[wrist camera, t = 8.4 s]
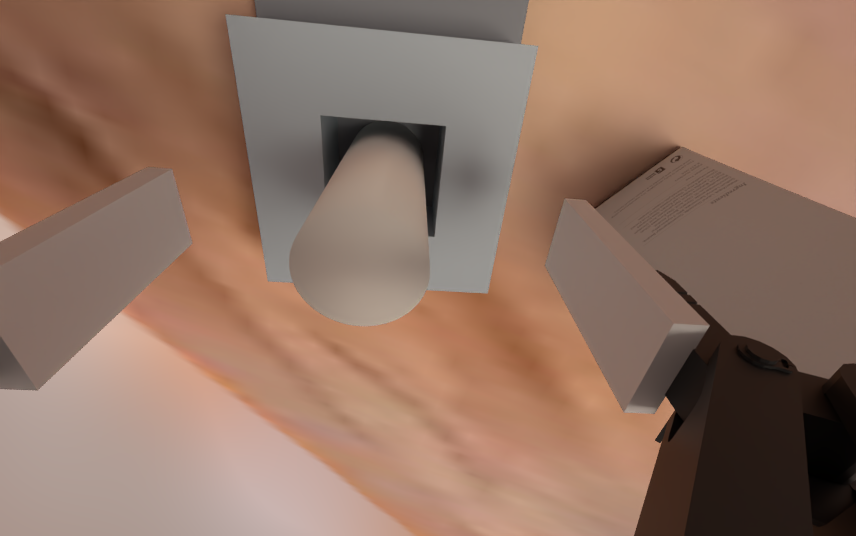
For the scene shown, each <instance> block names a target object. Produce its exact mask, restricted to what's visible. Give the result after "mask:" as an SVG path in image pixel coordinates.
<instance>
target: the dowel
mask: <svg viewBox="0 0 856 536" xmlns="http://www.w3.org/2000/svg"><path fill="white" fill-rule="evenodd" d="M289 269H290V274H291V278H292V281H293V283H294V285H295V287H296V289H297V291H298V292H299V294H300V295H301V297H302V298H303V299H304V300H305V301H306V302H307V303H308V304H309V305H310V306H311V307H312V308H313V309H315V310H316V311H317V312H319V313H320V314H322V315H324V316H326V317H327V318H330V319H332V320H334V321H337V322H340V323H344V324H348V325H354V326H375V325H381V324H386V323H389V322H392V321H394V320H397V319H399V318H401V317H402V316H404V315H406V314H407V313H408V312H410V311H411V310H412V309H413V308H414V307H415V306H416V305H417V304H418V303H419V302H420V300H421V299H422V298H423V296H424V294H425V292H426V290H427V287H428V284H429V278H430V259H429V244H428V228H427V212H426V197H425V181H424V165H423V153H422V148H421V145H420V142H419V141H418V139H417V137H416V136H415V134H414V133H413V132H412V131H411V130H410V129H409V128H407V127H406V126H404V125H403V124H400V123H398V122H393V121H381V120H380V121H375V122H372V123H370V124H368V125H366V126H365V127H364V128H362V129H361V130H360V131H359V133H358V134H357V135H356V137H355V139H354V140H353V142H352V144H351V145H350V147H349V149H348V150H347V152H346V154H345V155H344V157H343V159H342V160H341V162H340V164H339V165H338V167H337V169H336V170H335V172H334V174H333V175H332V177H331V179H330V180H329V182H328V184H327V185H326V187H325V189H324V191H323V192H322V194H321V196H320V197H319V199H318V201H317V202H316V204H315V206H314V207H313V209H312V211H311V212H310V214H309V216H308V217H307V219H306V221H305V222H304V224H303V226H302V227H301V229H300V231H299V232H298V234H297V236H296V238H295V240H294V242H293V244H292V247H291V250H290V256H289Z"/></svg>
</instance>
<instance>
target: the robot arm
mask: <svg viewBox="0 0 856 536" xmlns="http://www.w3.org/2000/svg"><path fill="white" fill-rule="evenodd" d="M191 244H192V239H191V236H190V232H189V229H188V225H187V221H186V218H185V214H184V210H183V207H182V203H181V200H180V196H179V192H178V189H177V185H176V181H175V178H174V174H173V171H172V169H168V168H155V167H146V168H144V169H142V170H140V171H138V172H136V173H135V174H133V175H131V176H129V177H127V178H125V179H123V180H121V181H119V182H117V183H115V184H113V185H111V186H109V187H107V188H105V189H103V190H101V191H99V192H97V193H95V194H93V195H91V196H89V197H87V198H85V199H83V200H81V201H79V202H77V203H75V204H74V205H72V206H70V207H68V208H66V209H64V210H62V211H60V212H58V213H56V214H54V215H52V216H50V217H48V218H46V219H44V220H42V221H40V222H38V223H36V224H34V225H32V226H30V227H28V228H26V229H24V230H22V231H20V232H18V233H16V234H14V235H12V236H11V237H9V238H7V239H5V240H3V241H1V242H0V389H16V390H38V389H40V387H41V386H43V385H44V384H45V383H46V382H47V381H48V380H49V379H50V378H51V377H52V376H53V375H54V374H55V373H56V372H57V371H59V370H60V369H61V368H62V367H63V366H64V365H65V364H66V363H67V362H68V361H69V360H70V359H71V358H72V357H73V356H74V355H75V354H76V353H77V352H78V351H79V350H81V349H82V348H83V346H85V345H86V344H87V343H88V342H89V341H90V340H91V339H92V338H93V337H94V336H95V335H96V334H97V333H99V332H100V331H101V330H102V329H103V328H104V327H105V326H106V325H107V324H108V323H109V322H110V321H111V320H112V319H113V318H114V317H115V316H116V315H118V314H119V313H120V312H121V311H122V310H123V309H124V308H125V307H126V306H127V305H128V304H129V303H130V302H131V301H132V300H133V299H134V298H135V297H136V296H138V295H139V294H140V293H141V292H142V291H143V290H144V289H145V288H146V287H147V286H148V285H149V284H150V283H151V282H152V281H153V280H154V279H155V278H157V277H158V276H159V275H160V274H161V273H162V272H163V271H164V270H165V269H166V268H167V267H168V266H169V265H170V264H171V263H172V262H173V261H174V260H175V259H177V258H178V257H179V256H180V255H181V254H182V253H183V252H184V251H185V250H186V249H187V248H188V247H189V246H190V245H191ZM545 267H546V269H547V271H548V272H549V274H550V276H551V278H552V280H553V282H554V284H555V285H556V287H557V289H558V291H559V293H560V295H561V297H562V298H563V300H564V302H565V304H566V306H567V308H568V310H569V311H570V313H571V315H572V317H573V319H574V321H575V323H576V324H577V326H578V328H579V330H580V332H581V334H582V336H583V337H584V339H585V341H586V343H587V345H588V347H589V349H590V351H591V352H592V354H593V356H594V358H595V360H596V362H597V364H598V365H599V367H600V369H601V371H602V373H603V375H604V377H605V378H606V380H607V382H608V384H609V386H610V388H611V390H612V391H613V393H614V395H615V397H616V399H617V401H618V403H619V404H620V406H621V408H622V410H623V412H624V413H651V414H655V412H656V411H657V409H658V407H659V406H660V404H661V403H662V401H663V400H664V398H665V396H666V397H667V398H668V400H669V401H670V403H671V404H672V406H673V407H674V409H675V411H674V412H673V414H672V415H671V417H670V418H669V420H668V421H667V423H666V424H665V426H664V427H663V429H662V430H661V432H660V433H659V435H658V436H657V438H656V439H655V441H657V442H659V443H661V441H662V443H661V447H660V450H659V453H658V457H657V460H656V463H655V467H654V470H653V474H652V477H651V480H650V484H649V487H648V491H647V494H646V497H645V501H644V504H643V507H642V511H641V514H640V518H639V521H638V524H637V528H636V531H635V534H634V536H856V364H854V363H851V364H843V365H842V366H841V367H840V368H839V369H838V370H837V371H836V372H835V373H834V374H833V375H832V376H831V378H830V379H826V378H822V377H818V376H815V375H811V374H807V373H803V372H799V371H798V370H797V368H796V366H795V365H794V364H793V363H792V362H791V361H790V360H789V359H788V358H787V357H786V356H785V355H783V354H782V353H780V352H779V351H777V350H776V349H774V348H773V347H771V346H768V345H766V344H764V343H762V342H760V341H758V340H754V339H751V338H748V337H745V336H737V335H731V334H730V333H729V332H728V331H726V330H725V329H724V328H723V327H722V326H721V325H720V324H719V323H718V322H717V321H716V320H715V319H714V318H713V317H712V316H711V315H710V314H709V313H708V312H707V311H706V310H705V309H704V308H703V307H702V306H701V305H697V301H696V300H695V299H694V298H693V297H692V296H691V295H687V292H686V291H685V290H684V289H683V288H682V287H681V286H680V285H679V284H678V283H677V282H676V281H675V280H673V279H672V278H670V277H669V276H667V275H665V274H664V273H662V272H660V271H659V270H655V269H654V268H653V267H652V266H651V265H650V264H649V263H648V262H647V261H646V260H645V259H644V258H643V257H642V256H641V255H640V254H639V253H638V252H637V251H636V250H635V249H634V248H633V247H632V246H631V245H630V244H629V243H628V242H627V241H626V240H625V239H624V238H623V237H622V236H621V235H620V234H619V233H618V232H617V231H616V230H615V229H614V228H613V227H612V226H611V225H610V224H609V223H608V222H607V221H606V220H605V219H604V218H603V217H602V216H601V215H600V214H599V213H598V212H597V211H596V210H595V209H594V208H593V207H592V206H591V205H590V204H589V203H588V202H587V200H581V199H567V198H564V202H563V205H562V209H561V212H560V215H559V219H558V222H557V226H556V229H555V232H554V236H553V239H552V243H551V246H550V249H549V253H548V256H547V260H546V263H545Z"/></svg>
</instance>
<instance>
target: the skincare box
mask: <svg viewBox="0 0 856 536" xmlns="http://www.w3.org/2000/svg"><path fill="white" fill-rule="evenodd" d="M595 210H596V211H597V212H598V213H599V214H600V215H601V216H602V217H603V218H604V219H605V220H606V221H607V222H608V223H609V224H610V225H611V226H612V227H613V228H614V229H615V230H616V231H617V232H618V233H619V234H620V235H621V236H622V237H623V238H624V239H625V240H626V241H627V242H628V243H629V244H630V245H631V246H632V247H633V248H634V249H635V250H636V251H637V252H638V253H639V254H640V255H641V256H642V257H643V258H644V259H645V260H646V261H647V262H648V263H649V264H650V265H651V266H652V267H653V268H654V269H655V270H659V271H660V272H662V273H664V274H665V275H667V276H669V277H670V278H672V279H673V280H675V281H676V282H677V283H678V284H679V285H680V286H681V287H682V288H683V289H684V290H685V291H686V292H687V295H691V296H692V297H693V298H694V299H695V300H696V301H697V305H701V306H702V307H703V308H704V309H705V310H706V311H707V312H708V313H709V314H710V315H711V316H712V317H713V318H714V319H715V320H716V321H717V322H718V323H719V324H720V325H721V326H722V327H723V328H724V329H725V330H726V331H728V332H729V333H730V334H731V335H737V336H745V337H748V338H751V339H754V340H758V341H760V342H762V343H764V344H766V345H768V346H771V347H773V348H774V349H776V350H777V351H779V352H780V353H782V354H783V355H785V356H786V357H787V358H788V359H789V360H790V361H791V362H792V363H793V364H794V365H795V366H796V368H797V370H798V371H799V372H803V373H807V374H811V375H815V376H818V377H822V378H826V379H830V378H831V376H832V375H833V374H834V373H835V372H836V371H837V370H838V369H839V368H840V367H841V366H842V365H843V364H851V363H854V364H856V218H855V217H852V216H850V215H847V214H845V213H842V212H840V211H837V210H835V209H832V208H830V207H827V206H825V205H822V204H820V203H817V202H815V201H813V200H810V199H808V198H805V197H803V196H800V195H798V194H795V193H793V192H790V191H788V190H786V189H783V188H781V187H778V186H776V185H773V184H771V183H768V182H766V181H764V180H761V179H759V178H756V177H754V176H751V175H749V174H747V173H744V172H742V171H739V170H737V169H734V168H732V167H729V166H727V165H725V164H722V163H720V162H717V161H715V160H712V159H710V158H708V157H705V156H703V155H700V154H698V153H696V152H693V151H691V150H689V149H686V148H684V147H681V148H679V149H678V150H676V151H675V152H674V153H672V154H671V155H669V156H668V157H667V158H665V159H664V160H662V161H661V162H659V163H658V164H657V165H655V166H654V167H652V168H651V169H650V170H648V171H647V172H645V173H644V174H643V175H641V176H640V177H638V178H637V179H636V180H634V181H633V182H631V183H630V184H629V185H627V186H626V187H624V188H623V189H622V190H620V191H619V192H618V193H616V194H615V195H613V196H612V197H611V198H609V199H608V200H606V201H605V202H604V203H602V204H601V205H600V206H598V207H597V208H595Z"/></svg>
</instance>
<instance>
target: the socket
mask: <svg viewBox="0 0 856 536" xmlns="http://www.w3.org/2000/svg"><path fill="white" fill-rule="evenodd" d="M528 2H529V0H255V8H256V16H257V17H248V16H238V15H228V14H225V15H226V21H227V27H228V34H229V40H230V46H231V52H232V59H233V65H234V71H235V78H236V84H237V90H238V96H239V103H240V109H241V115H242V121H243V128H244V134H245V140H246V147H247V153H248V159H249V165H250V172H251V178H252V184H253V191H254V197H255V203H256V209H257V216H258V222H259V228H260V234H261V241H262V247H263V253H264V260H265V266H266V272H267V278H268V281H272V282H290V283H293V281H292V278H291V274H290V269H289V256H290V250H291V247H292V244H293V242H294V240H295V238H296V236H297V234H298V232H299V231H300V229H301V227H302V226H303V224H304V222H305V221H306V219H307V217H308V216H309V214H310V212H311V211H312V209H313V207H314V206H315V204H316V202H317V201H318V199H319V197H320V196H321V194H322V192H323V191H324V189H325V187H326V185H327V184H328V182H329V180H330V179H331V177H332V175H333V174H334V172H335V170H336V169H337V167H338V165H339V164H340V162H341V160H342V159H343V157H344V155H345V154H346V152H347V150H348V149H349V147H350V145H351V144H352V142H353V140H354V139H355V137H356V135H357V134H358V133H359V131H360V130H361V129H362V128H364V127H365V126H366V125H368V124H370V123H372V122H375V121H380V120H381V121H393V122H398V123H400V124H403V125H404V126H406V127H407V128H409V129H410V130H411V131H412V132H413V133H414V134H415V136H416V137H417V139H418V141H419V142H420V145H421V148H422V153H423V165H424V181H425V197H426V212H427V228H428V244H429V259H430V278H429V284H428V287H427V290H435V291H453V292H471V293H488V289H489V284H490V279H491V274H492V269H493V264H494V260H495V255H496V250H497V245H498V240H499V235H500V230H501V225H502V221H503V216H504V211H505V206H506V201H507V196H508V191H509V186H510V182H511V177H512V172H513V167H514V162H515V157H516V152H517V147H518V143H519V138H520V133H521V128H522V123H523V118H524V113H525V108H526V103H527V99H528V94H529V89H530V84H531V79H532V74H533V69H534V64H535V60H536V55H537V50H538V46H533V45H524V44H521V40H522V34H523V29H524V24H525V18H526V13H527V7H528Z"/></svg>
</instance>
